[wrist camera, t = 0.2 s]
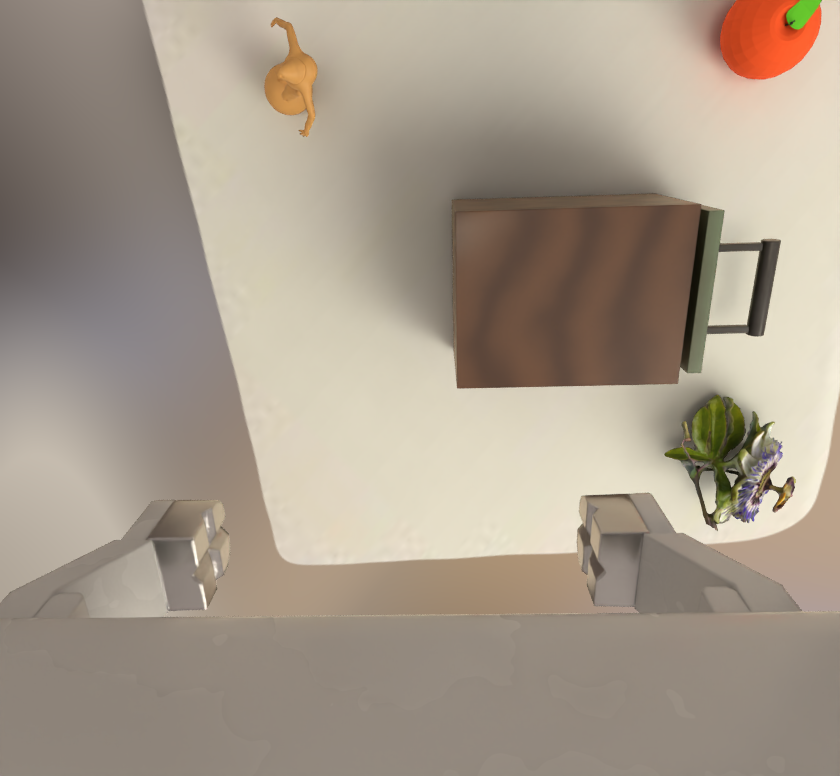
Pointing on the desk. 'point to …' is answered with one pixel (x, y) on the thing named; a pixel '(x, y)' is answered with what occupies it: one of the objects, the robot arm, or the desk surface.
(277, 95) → the figurine
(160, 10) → the desk surface
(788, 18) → the clementine
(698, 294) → the drawer
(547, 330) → the cabinet
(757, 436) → the passion flower
